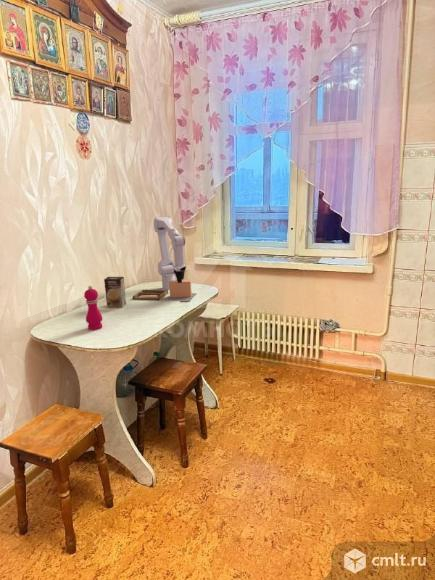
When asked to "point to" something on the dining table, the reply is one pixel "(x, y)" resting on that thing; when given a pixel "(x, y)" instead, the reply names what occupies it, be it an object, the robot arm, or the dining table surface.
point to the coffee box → (115, 292)
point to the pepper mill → (92, 309)
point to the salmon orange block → (180, 288)
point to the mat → (181, 298)
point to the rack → (151, 292)
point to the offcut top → (148, 296)
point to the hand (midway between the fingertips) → (180, 281)
